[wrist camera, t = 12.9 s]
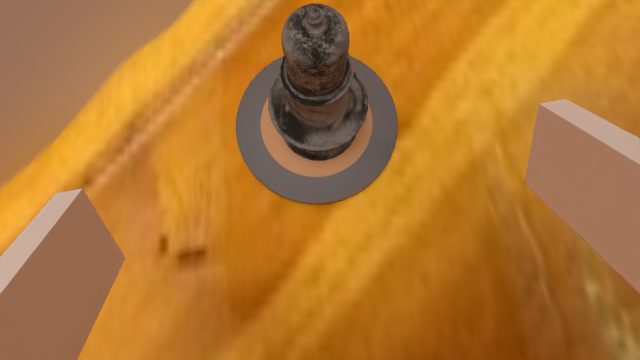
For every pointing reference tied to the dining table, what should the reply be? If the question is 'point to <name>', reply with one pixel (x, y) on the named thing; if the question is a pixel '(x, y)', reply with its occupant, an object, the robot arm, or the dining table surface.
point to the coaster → (307, 175)
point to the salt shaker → (317, 86)
